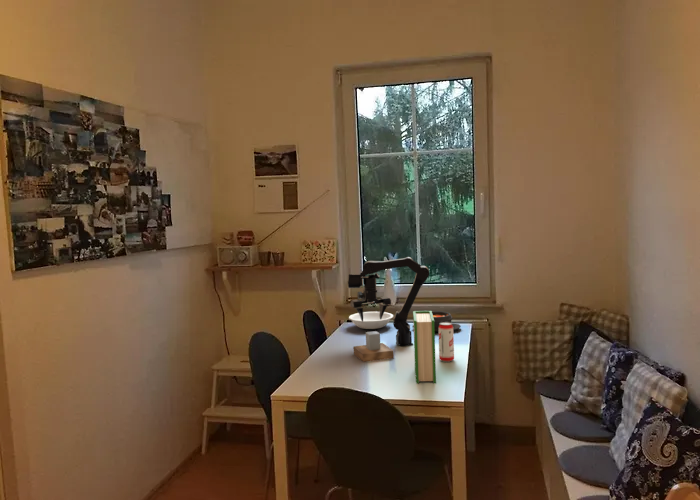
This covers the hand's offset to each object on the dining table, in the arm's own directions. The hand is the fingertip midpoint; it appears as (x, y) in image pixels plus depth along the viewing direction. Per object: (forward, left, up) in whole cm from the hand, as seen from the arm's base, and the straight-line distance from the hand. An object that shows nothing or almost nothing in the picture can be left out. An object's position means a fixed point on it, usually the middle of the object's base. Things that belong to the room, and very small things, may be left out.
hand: (371, 320), depth 270 cm
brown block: (+6, +18, -13) cm, 23 cm away
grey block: (+6, +18, -9) cm, 21 cm away
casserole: (-40, -13, -12) cm, 44 cm away
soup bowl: (-11, -32, -12) cm, 36 cm away
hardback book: (-3, +53, -12) cm, 54 cm away
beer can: (-20, +38, -12) cm, 45 cm away
